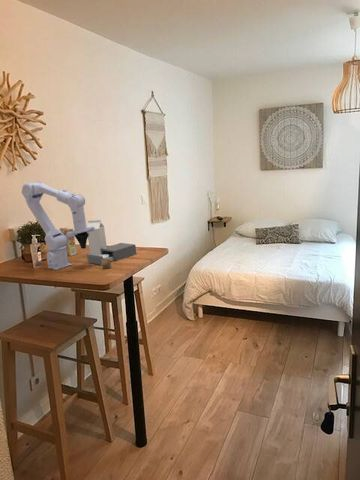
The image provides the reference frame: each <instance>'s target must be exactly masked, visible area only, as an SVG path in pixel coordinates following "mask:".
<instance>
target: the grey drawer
mask: <svg viewBox="0 0 360 480" xmlns="http://www.w3.org/2000/svg"><path fill="white" fill-rule="evenodd" d="M108 255H109V258H108V259H110V262H113V261H114V255H113V253H108ZM86 259H87V263H89V264H90V263H91V264H94V265H95V264H96V265H100V266H102V259H103V256H99V255H93V254H90V253H87V254H86Z"/></svg>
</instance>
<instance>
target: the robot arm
mask: <svg viewBox="0 0 360 480" xmlns="http://www.w3.org/2000/svg"><path fill="white" fill-rule="evenodd" d="M21 194H22V196H23V197H24V200H25V202H26V205H27V207H28V208H29V210H30V212H31V213H32V214H33V216H34V218H35V219H36V220H37V221H36V222H38V224H39V225H40V227H41V229H42V230H43V232H44V233H45V237H44V241H45V243H46V246H47V249H48V250H49V251H47V253H46V261H47V268H48V269H51V270H55V271H57V270H59V269H60V270H61V269H64V268H66V267H70V266H72V265H73V263H69V259H68V255H67V251H66V247H67V246H66V245H67V244H68V238H67V237H71V236H74V238H75V240H76V241H77V242H78V244H79V246H80V249H86V248H87V243H88V236H89V233H87V232H90V231H95V228H94V227H88V228H87V222H86V221H87V220H86V214H85V207H84V206H85V204H86V199H85V197H84V196H83V195H81V194H75V193H74V192H72V193H71V192H69V191H67V189H64V188H63V189H60V190H58V189H56V188H53V187H51V186H50V185H48V184H46V183H45V182H42V181H37V182H30V183H24V184H23V185H22V187H21ZM44 194H45V195H49V196H51V197H54V198H56V200H57V201H58V202H60V203H62V204H65V205H67V206H68V207H69V208H70V212H71V214H72V221H73V231H71V232H67V237H66V236H65V235H64V234H63V233H62V232H61V231H60V229H57V228H56V226H55V225H54V223H53V222H52V220H51V219H50V217H49V216H48V214H47V212H46V210H45V209H44V208H43V206H42V205H41V203H40V202H41V199H42V197H43V196H44Z"/></svg>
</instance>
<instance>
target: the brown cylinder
mask: <svg viewBox="0 0 360 480" xmlns="http://www.w3.org/2000/svg"><path fill="white" fill-rule="evenodd" d="M111 262H112V261H110V259H108V258H107V259H102V265H101V266H102V270H105V269H106V270H109V269H111V268H112V263H111Z"/></svg>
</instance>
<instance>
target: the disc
mask: <svg viewBox="0 0 360 480" xmlns="http://www.w3.org/2000/svg"><path fill="white" fill-rule="evenodd" d="M99 256H103V259H107V258H109V255H108V254H103V255H99Z"/></svg>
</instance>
